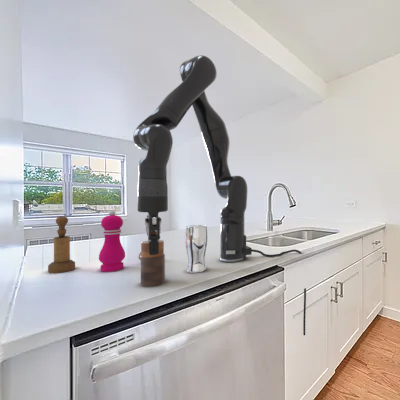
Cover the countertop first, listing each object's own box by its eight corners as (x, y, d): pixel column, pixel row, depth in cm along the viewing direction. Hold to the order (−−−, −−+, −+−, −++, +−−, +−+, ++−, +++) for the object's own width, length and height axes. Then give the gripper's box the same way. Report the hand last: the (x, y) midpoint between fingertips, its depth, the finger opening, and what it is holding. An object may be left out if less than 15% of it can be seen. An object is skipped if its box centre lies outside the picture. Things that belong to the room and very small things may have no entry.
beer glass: (181, 270, 86) (181, 225, 85) (201, 266, 90) (202, 224, 90) (190, 274, 81) (190, 227, 80) (210, 270, 86) (211, 226, 85)
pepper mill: (111, 273, 82) (111, 211, 82) (93, 271, 83) (92, 210, 83) (130, 267, 89) (130, 210, 89) (113, 265, 90) (113, 209, 90)
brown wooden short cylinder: (163, 252, 76) (163, 239, 76) (164, 256, 72) (164, 242, 72) (141, 254, 73) (141, 240, 73) (141, 258, 69) (141, 244, 69)
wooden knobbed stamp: (45, 274, 80) (45, 217, 80) (50, 269, 85) (50, 216, 85) (74, 271, 84) (73, 216, 84) (76, 266, 89) (76, 215, 89)
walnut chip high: (163, 265, 77) (163, 252, 77) (165, 270, 72) (165, 256, 72) (140, 268, 74) (140, 254, 73) (140, 273, 68) (140, 258, 68)
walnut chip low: (163, 278, 77) (163, 265, 77) (165, 284, 72) (165, 270, 72) (140, 281, 74) (140, 268, 74) (140, 288, 69) (140, 273, 68)
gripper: (170, 195, 68) (170, 255, 69) (165, 195, 80) (165, 246, 81) (137, 195, 64) (137, 258, 65) (137, 195, 76) (137, 248, 77)
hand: (153, 251), depth 73 cm, fingers open, 8 cm apart
